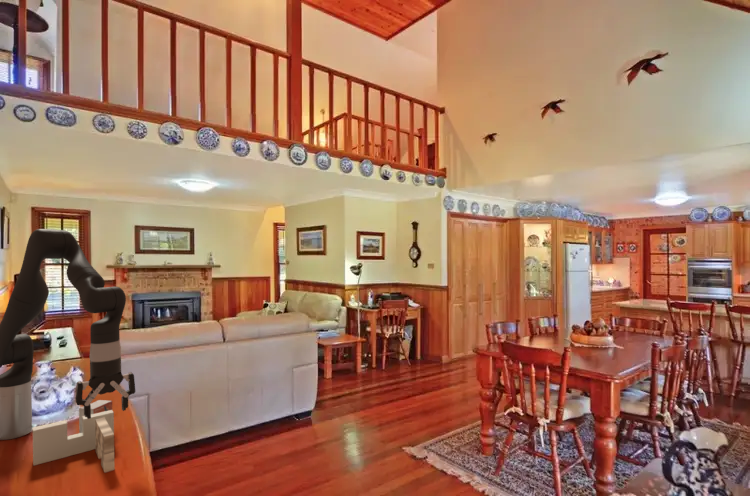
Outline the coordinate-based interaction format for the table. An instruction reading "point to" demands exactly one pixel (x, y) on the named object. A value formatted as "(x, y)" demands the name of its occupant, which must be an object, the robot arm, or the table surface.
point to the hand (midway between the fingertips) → (106, 413)
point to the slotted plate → (104, 444)
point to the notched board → (66, 438)
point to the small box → (95, 410)
